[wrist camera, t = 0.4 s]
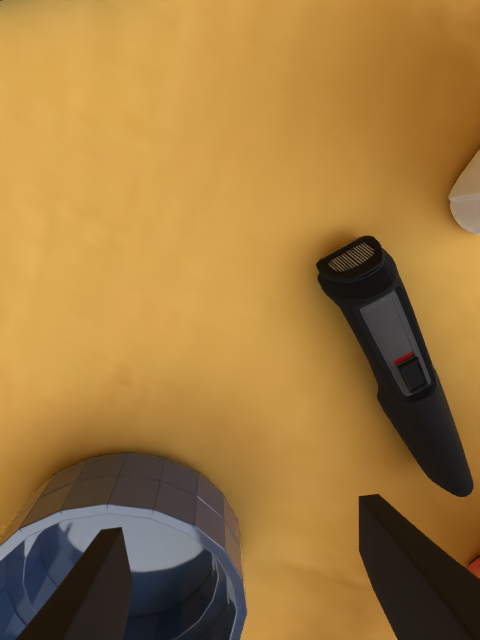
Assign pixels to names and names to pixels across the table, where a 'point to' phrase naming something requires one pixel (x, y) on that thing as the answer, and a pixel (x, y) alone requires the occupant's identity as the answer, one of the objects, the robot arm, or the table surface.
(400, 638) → the robot arm
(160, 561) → the bowl
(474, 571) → the cracker box
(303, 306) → the table surface
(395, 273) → the electric trimmer
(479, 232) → the photo printer
